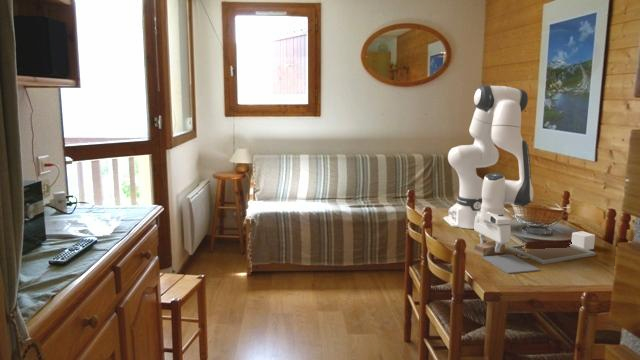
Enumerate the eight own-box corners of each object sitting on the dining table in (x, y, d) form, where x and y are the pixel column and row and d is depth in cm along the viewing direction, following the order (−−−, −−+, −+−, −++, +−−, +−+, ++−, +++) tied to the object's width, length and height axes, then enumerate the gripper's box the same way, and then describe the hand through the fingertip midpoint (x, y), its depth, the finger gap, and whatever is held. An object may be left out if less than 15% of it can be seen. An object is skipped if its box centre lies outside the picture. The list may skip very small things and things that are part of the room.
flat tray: (596, 252, 191) (537, 262, 180) (596, 256, 191) (537, 266, 181) (557, 239, 209) (501, 247, 198) (556, 242, 209) (501, 250, 198)
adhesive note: (581, 244, 204) (582, 231, 203) (593, 249, 199) (595, 234, 198) (570, 246, 202) (572, 232, 201) (583, 250, 197) (584, 236, 196)
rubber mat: (481, 257, 188) (481, 256, 188) (511, 255, 191) (511, 254, 191) (507, 273, 172) (507, 272, 172) (539, 270, 175) (539, 269, 175)
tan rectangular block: (483, 257, 190) (483, 247, 189) (474, 253, 194) (474, 244, 194) (504, 253, 194) (504, 244, 194) (495, 249, 199) (495, 240, 198)
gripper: (471, 208, 201) (469, 240, 203) (499, 221, 181) (497, 256, 184) (484, 207, 202) (482, 239, 205) (514, 220, 183) (512, 255, 185)
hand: (489, 248), depth 194 cm, fingers open, 8 cm apart
